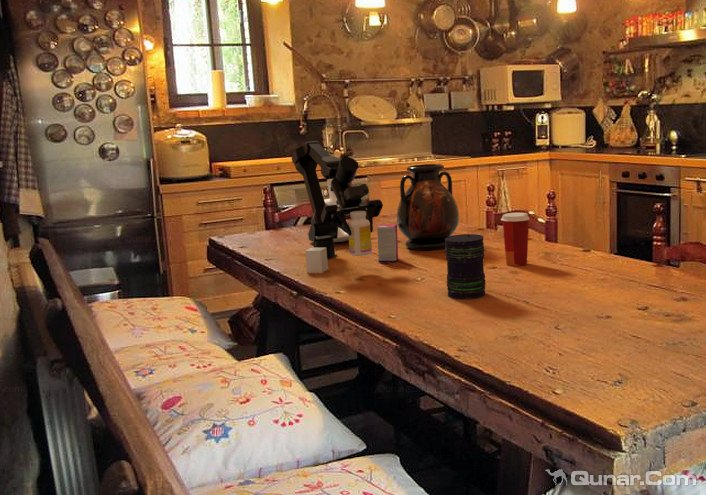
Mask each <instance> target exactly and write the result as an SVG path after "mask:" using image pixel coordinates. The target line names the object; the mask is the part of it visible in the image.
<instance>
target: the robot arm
mask: <svg viewBox="0 0 706 495" xmlns="http://www.w3.org/2000/svg"><path fill="white" fill-rule="evenodd" d="M291 161H292V164H293V165H294V167H295V171H297V172H298V173H299V174H300V175H301V176H302V178H303V181H304V182H303V183H304V186H305V189H306V192H307V193H306V194H307V197H308V199H309V202H310V207H311V210H312V217H311V220H310V228H309V231H308V233H307V235H308V240H309V241H310V242H313V248H323V247H326V250H327V260H329V259H332V258H336V257H338V254H337V253H336V251H335V243H334V242H333V239H337V236H338V227H339V228H340V229H342V230H343V231H344V232H346V233H347V234H348V235H349V236H350V235H351V230H350V228H349V225H348V222H347V220H346V216H349V215H350V212H353V211H366V219H367V220H368V221H369V222H370V232H371V234H372V233H373V231H374V227H373V226H374V224H373V222H374V221H373V218H377V217H378V216H380V213H381V211H382V209H383V207H384V204H383V202H382V200H381V199H371V200H367V203H366V205H360V204H362V202H363V200H362V199H363V197H365V196H367V195H368V194H369V193H370V190H369V186H368V184H367V183H362V184H360V185H353V186H352V185H351V183H352V182H354V179H355V177H356V175H357V172H358V169H359V162H358V161H357V160H356V159H354V158H352V157H349V155H348V154H345V155H341V158H339V157H338V156H337V157H336V156H332V155H331V153H329V152H328V151H327V150H326V149H325V148H324V147H323V146H322V144H321V142H320V141H317V140H315V141H306V142H304V143H303V144H302V145H300V146H299V147H297V148H296V149H295V150H294V151H293V152H292V154H291ZM318 166H319V167H320V174H321V175H322V178H324V179H325V180H326V181H327V179H333V180H332V182H331V191H334V193H335V196H336V198H337V201H336V203H337V205H339V206H337V205H328V204H325V201H324V199H325V198H324V194H323V191H322V189H321V184H320V180H319V176H318V174H317V167H318Z"/></svg>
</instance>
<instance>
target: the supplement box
mask: <svg viewBox="0 0 706 495" xmlns="http://www.w3.org/2000/svg"><path fill="white" fill-rule="evenodd" d="M376 229H377V230H376V232H377V257H378V263H380V264H381V263H396V262H397V260H398V259H399V248H398V246H399V243H398V225H397V224H379V225H378V226H377V227H376Z"/></svg>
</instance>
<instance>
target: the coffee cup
mask: <svg viewBox="0 0 706 495" xmlns="http://www.w3.org/2000/svg"><path fill="white" fill-rule="evenodd" d="M529 220H530V217H529V214H528V213H526V212H509V213H504V214H503V215H502V216H501V218H500V221H501V222H502V231H503V232H502V233H503V240H504V241H503V242H504V243H503V244H504V253H505V261H506V263H505V264H506V266H509V267H523V266H526V265H527V264H528V249H529V245H528V244H529Z"/></svg>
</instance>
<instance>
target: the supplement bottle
mask: <svg viewBox="0 0 706 495" xmlns="http://www.w3.org/2000/svg"><path fill="white" fill-rule="evenodd" d="M350 219H351V220H349V221H348V222H347V223H348V225H349V228H350V230H351V235H350V236H349V240H348V245H349V247H348V248H349V255H351V256H353V257H354V256H355V257H359V256H360V257H364V256H369V255H370V254H372V248H373V247H372V233H371V232H370V222H369V221H368V220H367V219H366V211H353V212H350Z"/></svg>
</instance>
